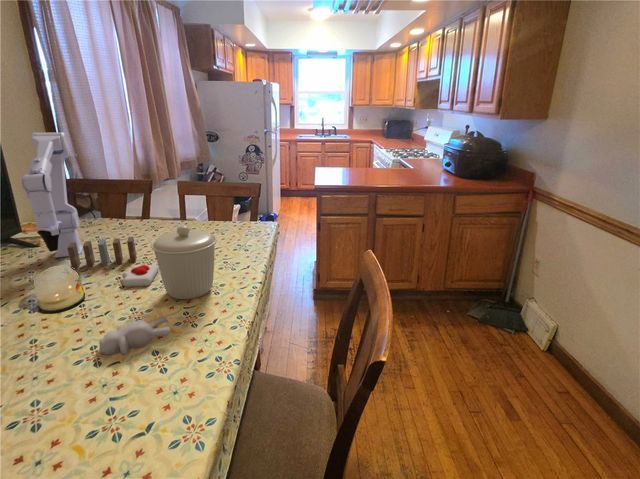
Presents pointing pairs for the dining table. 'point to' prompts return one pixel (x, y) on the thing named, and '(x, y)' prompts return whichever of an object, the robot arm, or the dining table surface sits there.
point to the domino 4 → (131, 249)
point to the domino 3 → (117, 251)
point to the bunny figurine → (132, 336)
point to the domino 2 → (88, 254)
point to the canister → (186, 261)
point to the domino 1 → (74, 255)
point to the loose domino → (103, 252)
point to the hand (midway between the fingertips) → (53, 250)
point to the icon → (140, 275)
